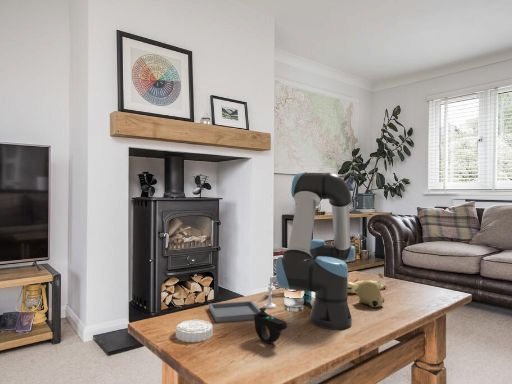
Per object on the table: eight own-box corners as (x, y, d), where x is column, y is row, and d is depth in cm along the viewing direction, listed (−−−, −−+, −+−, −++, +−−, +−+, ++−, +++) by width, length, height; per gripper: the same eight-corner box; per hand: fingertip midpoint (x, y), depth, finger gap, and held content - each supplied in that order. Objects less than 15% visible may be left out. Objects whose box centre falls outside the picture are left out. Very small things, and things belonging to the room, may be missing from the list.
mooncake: (205, 344, 113) (205, 333, 113) (169, 340, 116) (169, 329, 116) (217, 330, 125) (217, 320, 125) (184, 327, 127) (184, 316, 127)
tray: (263, 318, 137) (263, 313, 137) (216, 322, 132) (216, 317, 132) (251, 305, 152) (251, 300, 152) (208, 308, 147) (208, 303, 147)
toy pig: (363, 315, 154) (379, 303, 148) (348, 289, 160) (363, 277, 154) (377, 310, 160) (393, 298, 154) (362, 286, 166) (377, 273, 160)
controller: (260, 335, 121) (261, 305, 121) (288, 347, 112) (289, 314, 112) (251, 338, 118) (251, 307, 118) (279, 351, 109) (279, 317, 109)
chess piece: (277, 308, 150) (278, 283, 150) (266, 309, 148) (267, 284, 148) (273, 304, 154) (273, 280, 154) (262, 305, 153) (262, 281, 153)
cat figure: (373, 288, 190) (337, 289, 178) (375, 271, 190) (338, 271, 178) (389, 293, 181) (351, 295, 169) (390, 275, 181) (353, 276, 169)
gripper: (330, 286, 169) (308, 297, 152) (285, 277, 184) (260, 286, 167) (331, 270, 169) (308, 279, 152) (285, 262, 184) (260, 270, 167)
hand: (283, 283), depth 159 cm, fingers open, 13 cm apart
